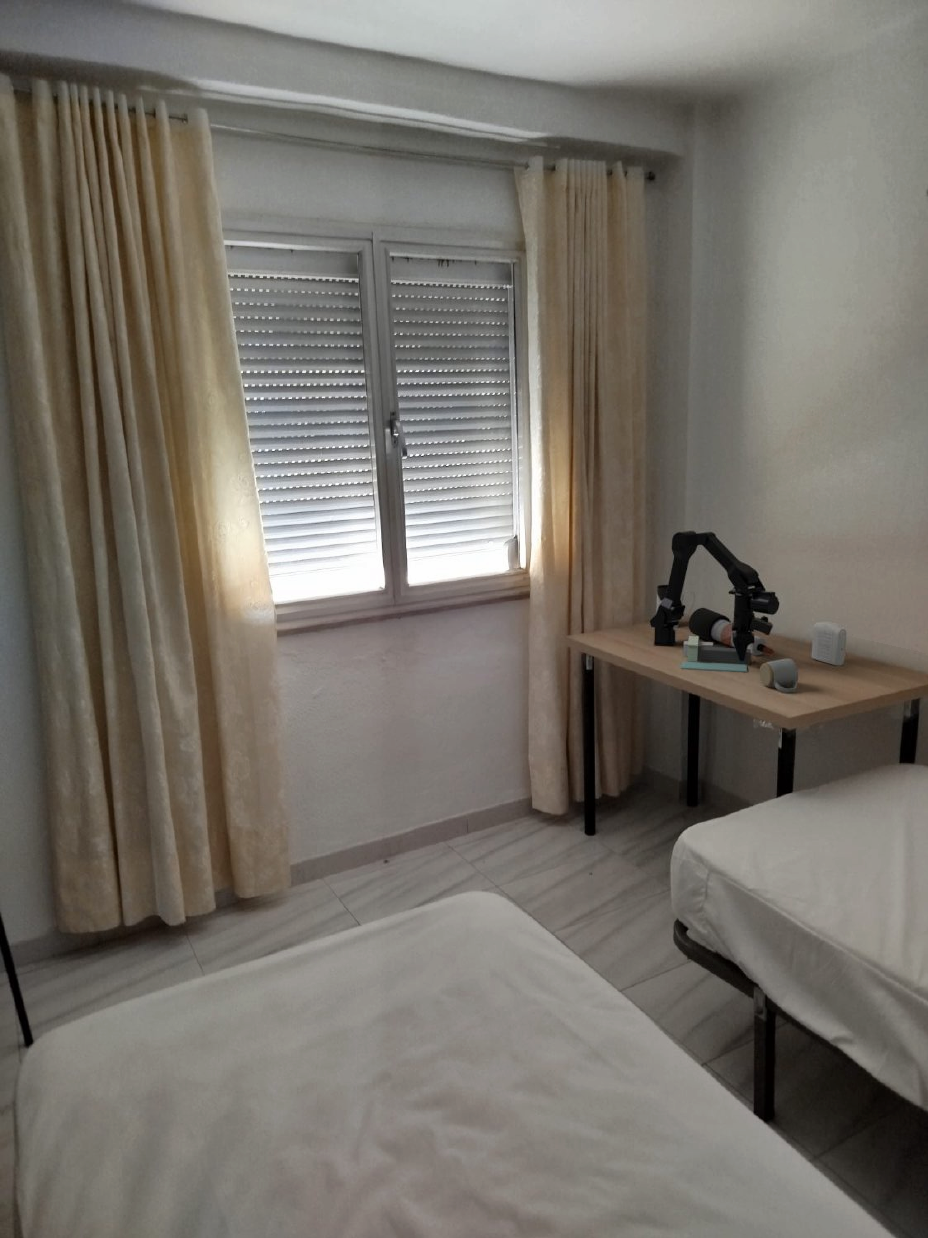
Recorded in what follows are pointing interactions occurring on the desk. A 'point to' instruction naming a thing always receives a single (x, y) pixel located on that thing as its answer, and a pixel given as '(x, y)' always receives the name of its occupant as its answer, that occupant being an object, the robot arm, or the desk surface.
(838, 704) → the desk surface
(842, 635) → the photo printer
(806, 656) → the desk surface
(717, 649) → the dark gray bar
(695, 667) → the mat
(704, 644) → the block
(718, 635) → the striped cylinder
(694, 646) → the light grey piece
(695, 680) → the desk surface
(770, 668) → the ceramic mug
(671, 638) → the robot arm
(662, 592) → the glass holder
